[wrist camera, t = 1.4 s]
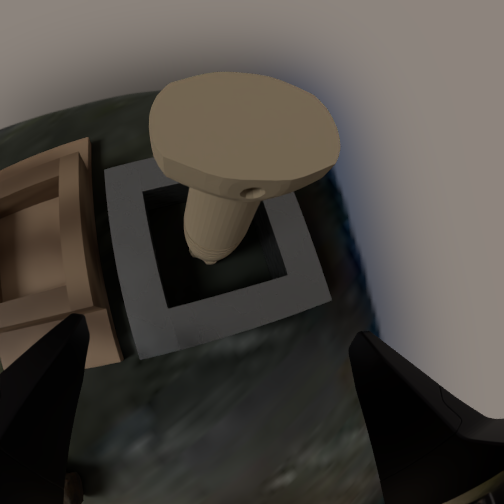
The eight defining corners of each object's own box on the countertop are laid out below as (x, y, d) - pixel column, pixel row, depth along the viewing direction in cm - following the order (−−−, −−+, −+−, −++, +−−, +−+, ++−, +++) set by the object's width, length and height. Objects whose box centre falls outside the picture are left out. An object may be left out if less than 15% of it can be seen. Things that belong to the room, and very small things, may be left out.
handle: (168, 219, 22) (157, 71, 8) (244, 217, 24) (320, 85, 9) (170, 277, 21) (142, 181, 7) (250, 273, 22) (354, 185, 8)
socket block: (311, 304, 23) (331, 300, 20) (147, 354, 19) (140, 359, 16) (261, 161, 26) (272, 139, 22) (113, 190, 21) (104, 169, 18)
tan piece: (124, 359, 18) (110, 367, 14) (13, 378, 15) (-13, 384, 11) (91, 144, 22) (80, 116, 18) (-2, 179, 18) (-20, 159, 15)
